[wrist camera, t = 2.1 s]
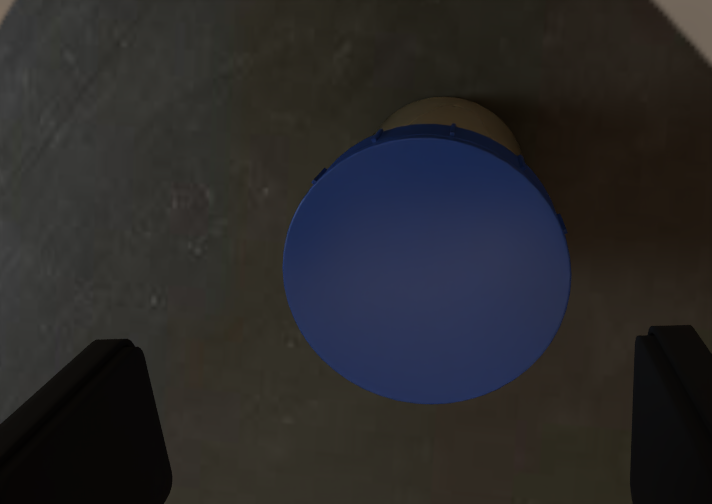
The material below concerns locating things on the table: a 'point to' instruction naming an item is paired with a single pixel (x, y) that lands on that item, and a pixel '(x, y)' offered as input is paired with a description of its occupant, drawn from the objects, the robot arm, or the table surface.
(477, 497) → the table surface
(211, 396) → the table surface
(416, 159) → the lid
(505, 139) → the jar
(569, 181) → the table surface
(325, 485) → the table surface
